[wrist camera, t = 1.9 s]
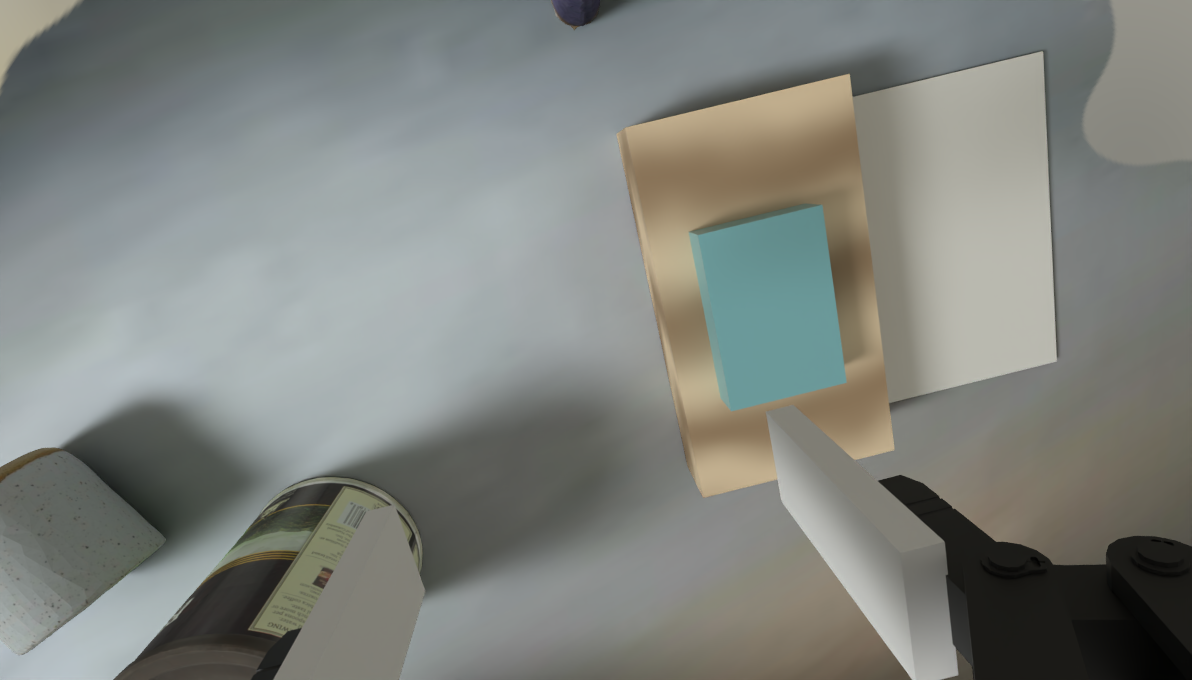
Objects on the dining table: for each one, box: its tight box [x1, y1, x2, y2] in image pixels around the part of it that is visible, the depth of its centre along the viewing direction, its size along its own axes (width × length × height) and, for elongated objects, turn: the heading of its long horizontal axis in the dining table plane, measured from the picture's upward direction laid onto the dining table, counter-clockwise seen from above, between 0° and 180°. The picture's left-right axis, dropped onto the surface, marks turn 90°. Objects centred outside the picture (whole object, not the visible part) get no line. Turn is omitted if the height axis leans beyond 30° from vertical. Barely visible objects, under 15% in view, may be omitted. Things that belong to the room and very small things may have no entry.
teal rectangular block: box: [689, 203, 847, 411], centre depth 31 cm, size 9×6×2 cm, turn 13°
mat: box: [852, 51, 1057, 403], centre depth 36 cm, size 18×12×1 cm, turn 13°
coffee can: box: [114, 477, 423, 680], centre depth 31 cm, size 10×10×14 cm
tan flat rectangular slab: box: [617, 74, 894, 498], centre depth 34 cm, size 20×11×4 cm, turn 13°
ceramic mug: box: [0, 448, 166, 655], centre depth 33 cm, size 11×8×8 cm
